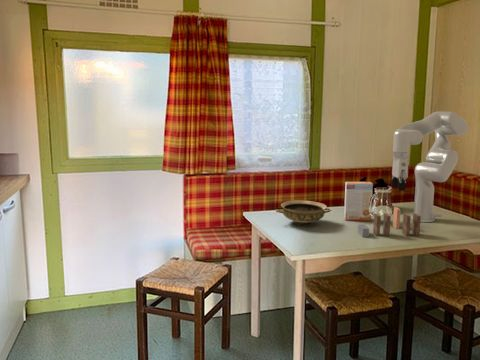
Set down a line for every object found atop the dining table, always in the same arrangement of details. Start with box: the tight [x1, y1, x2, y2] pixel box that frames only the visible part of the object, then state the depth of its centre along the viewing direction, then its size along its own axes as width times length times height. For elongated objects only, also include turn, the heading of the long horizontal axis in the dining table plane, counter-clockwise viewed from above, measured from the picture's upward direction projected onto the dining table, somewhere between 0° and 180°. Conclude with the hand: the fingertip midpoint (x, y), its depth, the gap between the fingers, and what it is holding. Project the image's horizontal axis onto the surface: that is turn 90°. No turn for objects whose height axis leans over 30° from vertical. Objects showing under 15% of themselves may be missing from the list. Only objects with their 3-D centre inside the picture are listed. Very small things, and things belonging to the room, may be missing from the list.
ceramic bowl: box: [275, 199, 332, 226], centre depth 236 cm, size 30×24×10 cm
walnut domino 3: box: [401, 213, 412, 237], centre depth 216 cm, size 2×5×10 cm, turn 0°
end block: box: [357, 223, 370, 238], centre depth 217 cm, size 3×8×4 cm, turn 1°
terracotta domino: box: [392, 206, 401, 229], centre depth 229 cm, size 2×5×10 cm, turn 0°
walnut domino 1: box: [372, 212, 382, 237], centre depth 216 cm, size 2×5×10 cm, turn 1°
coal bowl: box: [358, 176, 389, 195], centre depth 268 cm, size 20×20×19 cm
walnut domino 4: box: [411, 212, 421, 237], centre depth 216 cm, size 2×5×10 cm, turn 0°
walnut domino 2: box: [382, 212, 392, 237], centre depth 216 cm, size 2×5×10 cm, turn 1°
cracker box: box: [343, 181, 374, 222], centre depth 243 cm, size 14×6×21 cm, turn 84°
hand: (398, 188), depth 226 cm, fingers open, 9 cm apart
